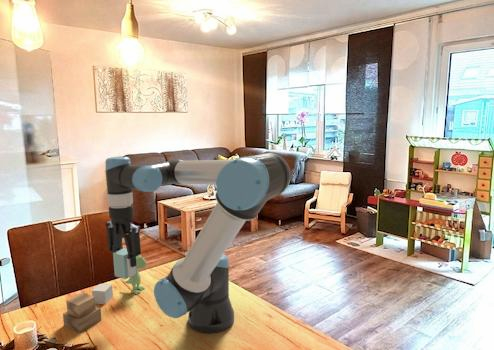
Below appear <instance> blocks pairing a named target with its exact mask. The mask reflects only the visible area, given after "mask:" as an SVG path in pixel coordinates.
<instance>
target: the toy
mask: <svg viewBox="0 0 494 350" xmlns="http://www.w3.org/2000/svg"><path fill="white" fill-rule="evenodd" d="M136 263H137V274H135V275H133V276H132V277H129V278H128V279H127V280H126V281H123V283H122V284H128V285H129V284H130V285H131V286H132V290H131V291H130V293H132V294H134V295H139V294H141V292H142V291H143V290H145V286H142V285H140V284H141V275H140V273H139V270H138V269H144V268H146V267H147V260H146V259H145V258H144V257H143V256H142V254H141V255H138V256H136Z"/></svg>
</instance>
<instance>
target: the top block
mask: <svg viewBox="0 0 494 350" xmlns="http://www.w3.org/2000/svg"><path fill="white" fill-rule="evenodd" d="M96 307H97V306H96V303H95V297H94V296H92V294H88V293H86V292H80V293H79V294H77V295H74V296H72V297H70V298H68V299H67V300H66V312H67V313H68V314H70V315H72V316H75V317H77V318H79V319H80V318H81V317H83V316H85V315H87V314H89V313H90V312H92V311H94V310H96Z"/></svg>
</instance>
